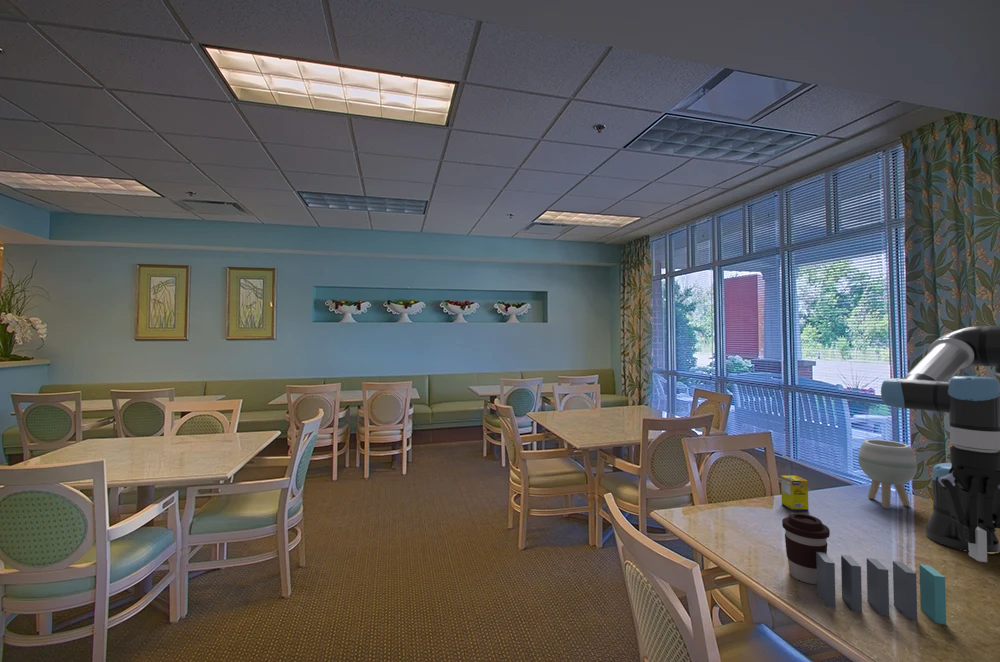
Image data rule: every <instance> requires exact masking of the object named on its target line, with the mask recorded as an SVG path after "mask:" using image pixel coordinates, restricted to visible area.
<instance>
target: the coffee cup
mask: <svg viewBox="0 0 1000 662" xmlns="http://www.w3.org/2000/svg"><path fill="white" fill-rule="evenodd" d="M781 523H782V524H781V525H782V528H783V529H784V530H785V531H784V532H785V533H784V540H785V551H786V557H787V561H788V571H789V574H790V576H792V578H794V579H795V580H798V581H799V580H800V582H802V583H805V584H810V585H817V560H816V552H823V553H826V554H827V555H828V542H827V541H828V540H827V539H828V538H830V535H831V534H830V533H831V532H830V531H831V530H830V528H829V526H828V525H825V524H824V523H823V522H822V520H821V519H820V518H818V517H816V516H813V515H809V514H806V513H797V512H796V513H795V512H794V513H791V514H790V513H789V515H788V516H787V517H784V518H783V519H782V520H781Z"/></svg>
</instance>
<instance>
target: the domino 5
mask: <svg viewBox="0 0 1000 662" xmlns="http://www.w3.org/2000/svg"><path fill="white" fill-rule="evenodd" d="M918 567H919V595H920V596H919V597H920V602H919V603H920V605H919V606H920V610H921V611H922V612H923V613H925V614H926V616H928V617H929V619H930V620H932V621H933V622H934V623H935V624H940V625H947V603H946V599H947V598H946V576H944V575H943V574H941V573H940V572H939V571H937V570H936V569H935V568H933V567H932V566H931V565H929V564H921V563H919V566H918Z"/></svg>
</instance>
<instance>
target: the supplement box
mask: <svg viewBox="0 0 1000 662" xmlns="http://www.w3.org/2000/svg"><path fill="white" fill-rule="evenodd" d="M780 477H781V478H780V482H781V483H780V484H781V485H780V486H781V506H783V507H784V508H787V510H790V511H792V512H809V480H807V479H804V478H803V477H800V476H798V475H780Z"/></svg>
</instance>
